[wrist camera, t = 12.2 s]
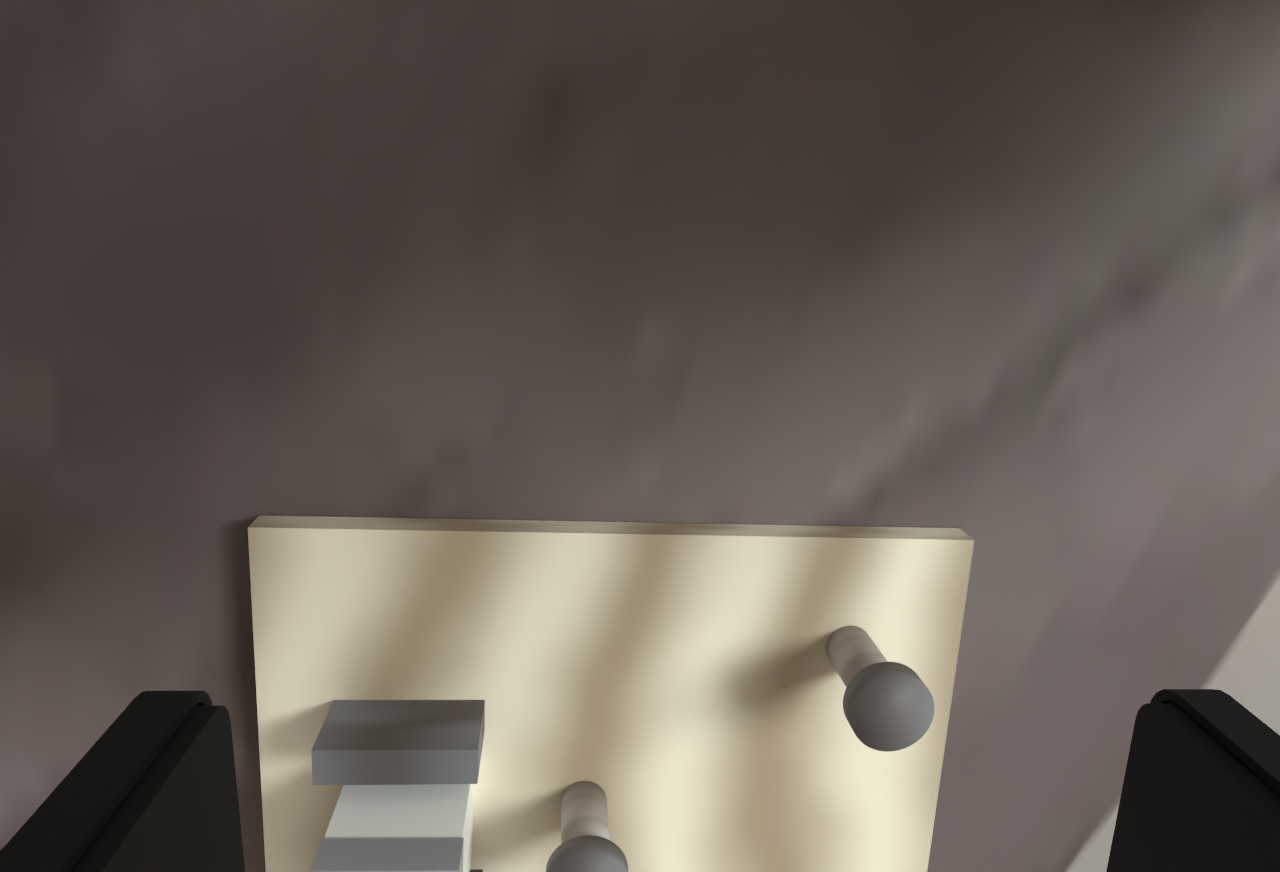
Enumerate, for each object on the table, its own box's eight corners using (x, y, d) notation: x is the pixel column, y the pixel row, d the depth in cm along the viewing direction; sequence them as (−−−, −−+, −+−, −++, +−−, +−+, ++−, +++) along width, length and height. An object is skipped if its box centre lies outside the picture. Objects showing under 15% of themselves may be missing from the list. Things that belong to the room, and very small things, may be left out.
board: (959, 528, 33) (1038, 591, 28) (912, 868, 36) (975, 984, 31) (259, 515, 31) (196, 581, 25) (277, 879, 34) (224, 1007, 29)
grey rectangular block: (476, 750, 32) (458, 870, 26) (473, 853, 33) (456, 990, 27) (354, 749, 32) (309, 870, 26) (355, 853, 33) (312, 993, 27)
